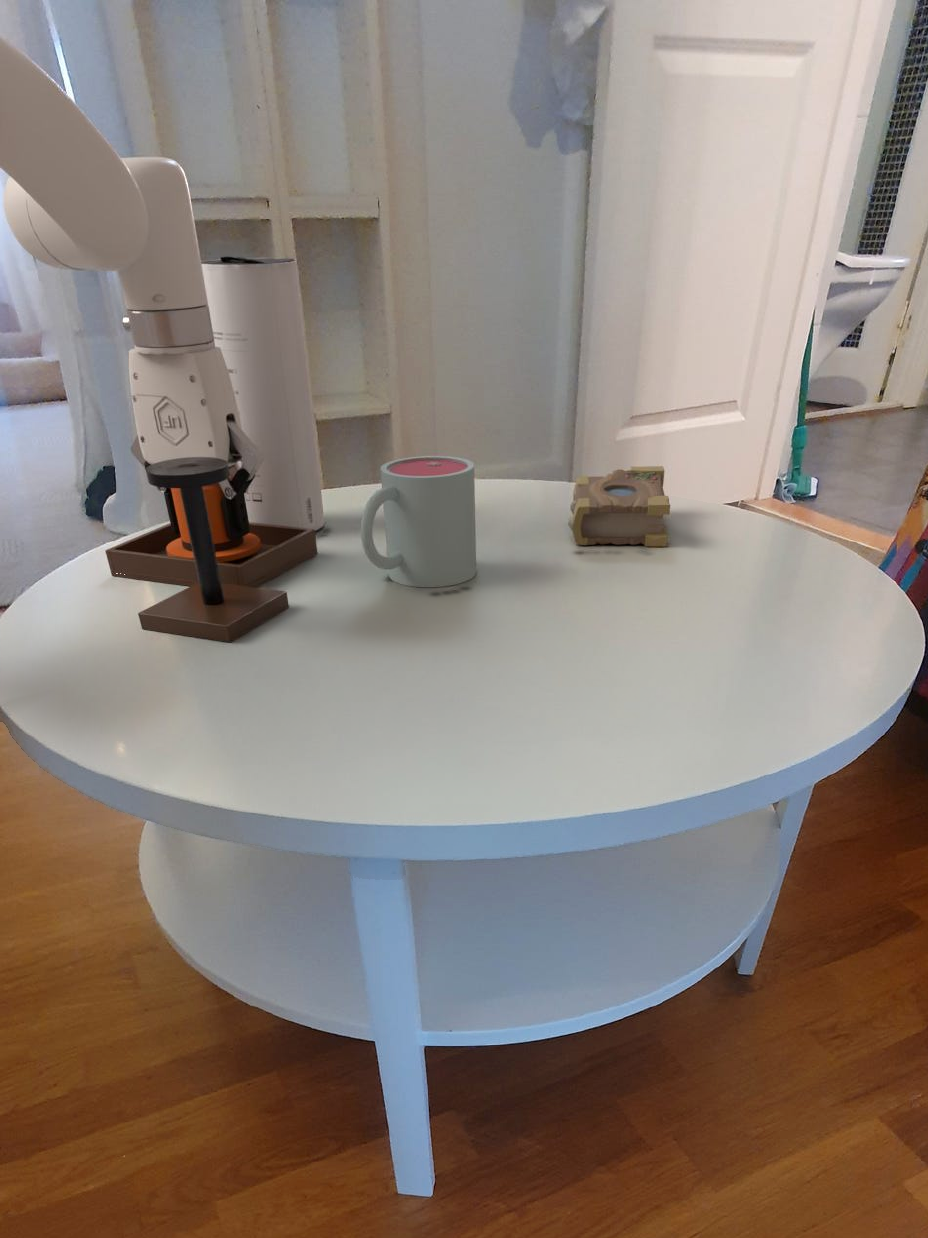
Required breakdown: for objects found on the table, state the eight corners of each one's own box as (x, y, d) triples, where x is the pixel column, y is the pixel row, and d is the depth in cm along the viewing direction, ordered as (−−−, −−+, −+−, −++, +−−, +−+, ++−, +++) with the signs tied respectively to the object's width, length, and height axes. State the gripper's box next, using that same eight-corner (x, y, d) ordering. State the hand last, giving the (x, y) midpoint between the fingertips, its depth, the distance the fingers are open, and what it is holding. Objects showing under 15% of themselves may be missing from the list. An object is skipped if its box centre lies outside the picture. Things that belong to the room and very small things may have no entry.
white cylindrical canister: (344, 526, 113) (316, 252, 96) (273, 545, 107) (230, 258, 90) (291, 511, 119) (256, 250, 102) (222, 528, 113) (172, 256, 96)
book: (667, 547, 103) (672, 497, 100) (567, 547, 104) (569, 498, 101) (658, 511, 114) (663, 466, 111) (568, 512, 115) (569, 467, 112)
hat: (148, 558, 100) (131, 490, 95) (204, 532, 106) (191, 468, 102) (225, 567, 96) (212, 497, 92) (278, 541, 103) (268, 474, 99)
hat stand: (141, 629, 88) (102, 474, 79) (205, 595, 94) (175, 450, 86) (230, 642, 84) (199, 483, 76) (289, 607, 91) (267, 457, 83)
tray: (111, 576, 100) (104, 550, 98) (192, 539, 110) (187, 515, 108) (245, 593, 95) (240, 566, 93) (317, 553, 104) (314, 528, 103)
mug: (432, 554, 103) (428, 452, 97) (494, 571, 98) (493, 464, 92) (337, 585, 96) (325, 477, 89) (398, 605, 91) (390, 492, 84)
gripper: (74, 334, 89) (124, 536, 100) (224, 338, 83) (259, 551, 95) (125, 325, 94) (167, 518, 106) (271, 328, 88) (298, 531, 100)
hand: (211, 532), depth 100 cm, fingers closed on hat, 6 cm apart
